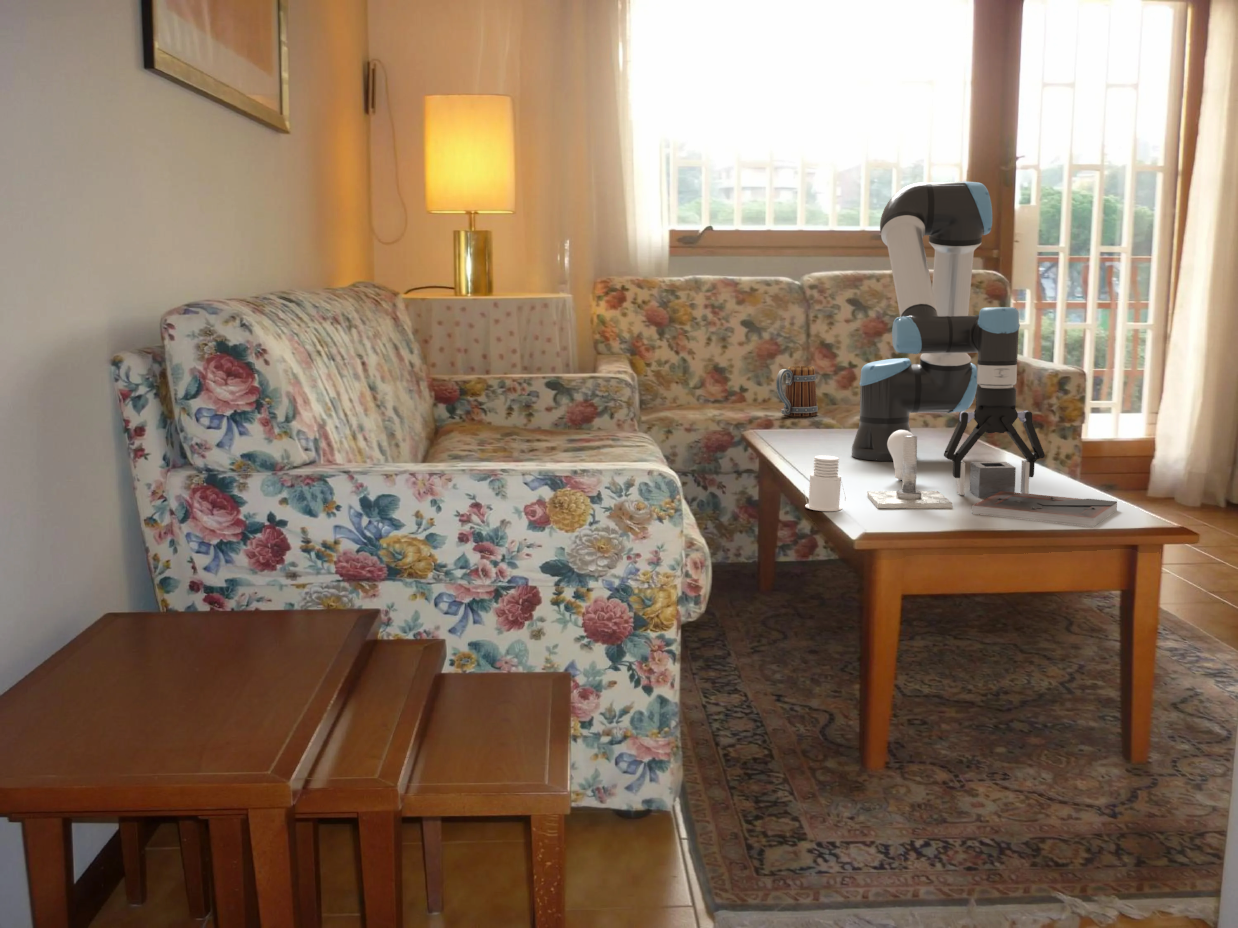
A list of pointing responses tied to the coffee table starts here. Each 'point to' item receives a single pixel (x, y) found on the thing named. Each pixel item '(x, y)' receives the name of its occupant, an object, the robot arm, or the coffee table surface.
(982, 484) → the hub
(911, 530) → the coffee table surface
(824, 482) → the downlight
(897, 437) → the lightbulb
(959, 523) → the coffee table surface
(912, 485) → the shaft
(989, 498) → the picture frame
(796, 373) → the mug
